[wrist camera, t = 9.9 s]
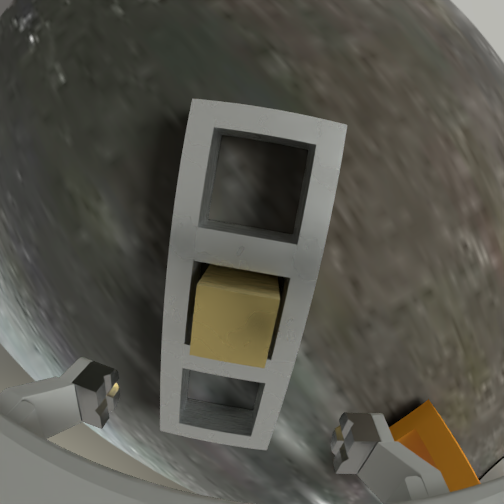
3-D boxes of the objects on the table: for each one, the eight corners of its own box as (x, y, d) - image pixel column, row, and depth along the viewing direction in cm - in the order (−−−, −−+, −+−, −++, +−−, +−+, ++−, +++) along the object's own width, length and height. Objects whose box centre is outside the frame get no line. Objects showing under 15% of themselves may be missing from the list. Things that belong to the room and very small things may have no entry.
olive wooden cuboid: (276, 269, 20) (280, 299, 15) (265, 326, 20) (264, 368, 16) (213, 258, 20) (196, 284, 15) (205, 315, 20) (189, 354, 16)
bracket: (357, 439, 23) (386, 548, 11) (425, 393, 22) (484, 494, 10) (400, 475, 25) (428, 556, 13) (455, 439, 23) (498, 515, 12)
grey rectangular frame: (334, 132, 17) (347, 124, 14) (266, 423, 23) (266, 450, 20) (203, 110, 17) (192, 98, 14) (169, 406, 23) (160, 430, 20)
